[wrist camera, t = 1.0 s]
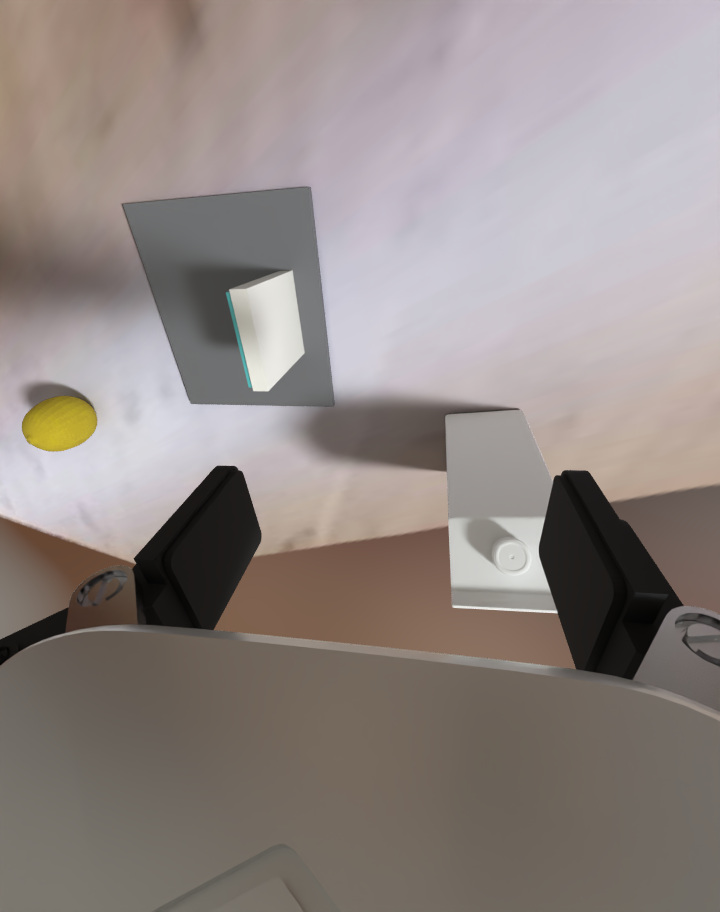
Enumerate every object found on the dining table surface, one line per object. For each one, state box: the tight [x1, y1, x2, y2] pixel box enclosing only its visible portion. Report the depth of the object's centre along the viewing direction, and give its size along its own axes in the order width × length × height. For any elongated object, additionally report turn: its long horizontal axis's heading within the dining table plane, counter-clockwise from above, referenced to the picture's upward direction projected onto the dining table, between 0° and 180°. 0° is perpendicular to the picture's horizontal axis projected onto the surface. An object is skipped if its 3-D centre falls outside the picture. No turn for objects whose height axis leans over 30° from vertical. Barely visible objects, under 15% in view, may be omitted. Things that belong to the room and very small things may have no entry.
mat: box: [123, 187, 335, 407], centre depth 34 cm, size 18×16×1 cm
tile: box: [226, 270, 305, 391], centre depth 29 cm, size 7×2×9 cm, turn 4°
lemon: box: [22, 396, 97, 451], centre depth 40 cm, size 6×6×8 cm
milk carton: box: [445, 410, 558, 613], centre depth 29 cm, size 7×7×19 cm
